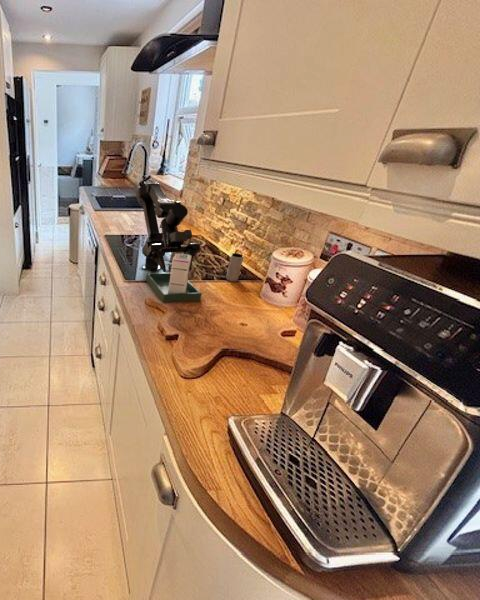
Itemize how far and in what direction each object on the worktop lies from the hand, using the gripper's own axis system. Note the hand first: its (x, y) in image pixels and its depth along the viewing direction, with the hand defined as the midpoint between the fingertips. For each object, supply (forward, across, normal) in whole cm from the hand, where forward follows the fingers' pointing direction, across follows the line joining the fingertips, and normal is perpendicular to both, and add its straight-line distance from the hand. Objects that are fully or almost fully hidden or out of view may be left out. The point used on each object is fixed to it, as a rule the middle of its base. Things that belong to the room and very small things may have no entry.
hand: (177, 271), depth 116 cm
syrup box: (+7, 0, +4) cm, 8 cm away
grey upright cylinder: (-1, +29, +14) cm, 32 cm away
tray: (+4, 0, +8) cm, 9 cm away
